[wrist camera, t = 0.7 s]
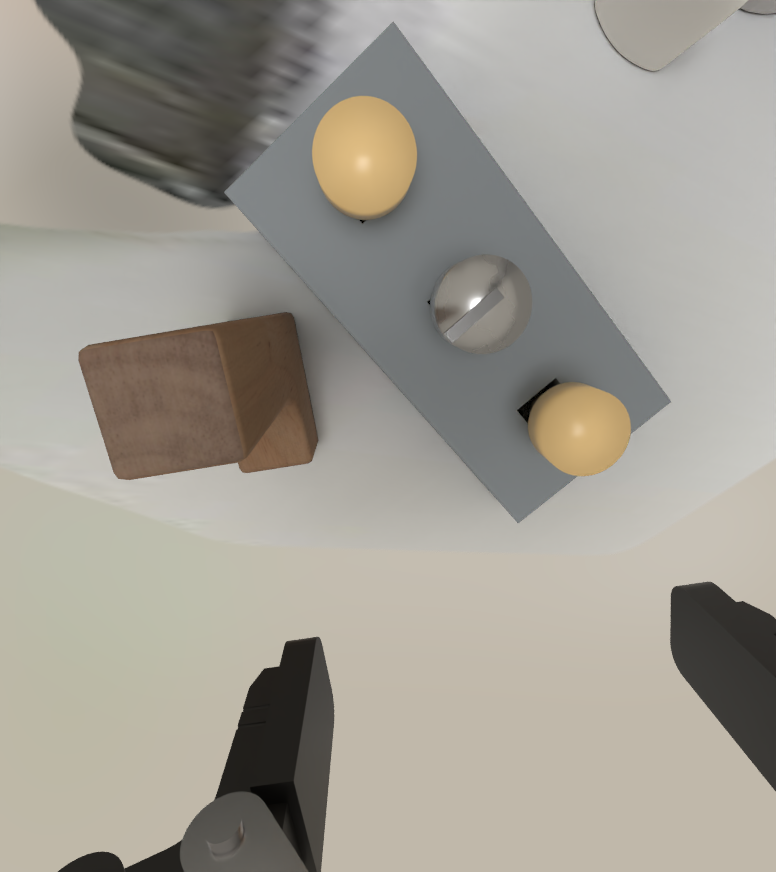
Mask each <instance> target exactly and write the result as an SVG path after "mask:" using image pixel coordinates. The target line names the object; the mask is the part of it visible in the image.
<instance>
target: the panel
mask: <svg viewBox="0 0 776 872" xmlns="http://www.w3.org/2000/svg"><path fill="white" fill-rule="evenodd" d="M356 96H371V97H376V98H379V99H382V100H384V101H386V102H388V103H389V104H391V105H392V106H394V107H395V108H396V109H397V110H398V111H400V113H401V114H402V115H403V116H404V117H405V119H406V120H407V122H408V123H409V125H410V127H411V129H412V132H413V134H414V137H415V142H416V147H417V163H416V169H415V173H414V176H413V179H412V181H411V184H410V186H409V188H408V191H407V193H406V195H405V197H404V198H403V200H402V201H401V203H400V204H399V205H398V206H397V207H396V208H395V209H394V210H393V211H391V212H390V213H388V214H387V215H385V216H382V217H380V218H376V219H371V220H366V221H365V222H364V223H363V224H362V223H361V222H360V220H359V219H354V218H351V217H349V216H346V215H344V214H343V213H341V212H339V211H338V210H337V209H336V208H334V207H333V206H332V204H331V203H330V202H329V201H328V200H327V198H326V197H325V195H324V193H323V191H322V189H321V187H320V184H319V181H318V179H317V176H316V173H315V170H314V166H313V160H312V146H313V139H314V135H315V132H316V129H317V127H318V125H319V123H320V121H321V120H322V118H323V117H324V115H325V114H326V113H327V112H328V111H329V110H330V109H331V108H332V107H333V106H334V105H336V104H338V103H339V102H341V101H343V100H345V99H348V98H351V97H356ZM224 193H225V194H226V195H227V196H228V197H229V198H230V199H231V200H232V202H233V203H234V204H235V205H236V206H237V207H238V208H239V210H240V211H241V212H242V213H243V214H244V215H245V216H246V217H247V219H248V220H249V221H250V222H251V223H252V224H253V225H254V226H255V227H256V229H257V230H258V231H259V232H260V233H261V234H262V235H263V237H264V238H265V239H266V240H267V241H268V242H269V243H270V244H271V246H272V247H273V248H274V249H275V250H276V251H277V252H278V253H279V255H280V256H281V257H282V258H283V259H284V260H285V261H286V262H287V264H288V265H289V266H290V267H291V268H292V269H293V270H294V271H295V273H296V274H297V275H298V276H299V277H300V278H301V279H302V280H303V282H304V283H305V284H306V285H307V286H308V287H309V288H310V289H311V291H312V292H313V293H314V294H315V295H316V296H317V297H318V298H319V300H320V301H321V302H322V303H323V304H324V305H325V306H326V307H327V309H328V310H329V311H330V312H331V313H332V314H333V315H334V317H335V318H336V319H337V320H338V321H339V322H340V323H341V324H342V326H343V327H344V328H345V329H346V330H347V331H348V332H349V333H350V335H351V336H352V337H353V338H354V339H355V340H356V341H357V342H358V344H359V345H360V346H361V347H362V348H363V349H364V350H365V351H366V353H367V354H368V355H369V356H370V357H371V358H372V359H373V360H374V362H375V363H376V364H377V365H378V366H379V367H380V368H381V369H382V371H383V372H384V373H385V374H386V375H387V376H388V377H389V378H390V380H391V381H392V382H393V383H394V384H395V385H396V386H397V387H398V389H399V390H400V391H401V392H402V393H403V394H404V395H405V396H406V398H407V399H408V400H409V401H410V402H411V403H412V404H413V405H414V407H415V408H416V409H417V410H418V411H419V412H420V413H421V414H422V416H423V417H424V418H425V419H426V420H427V421H428V422H429V423H430V425H431V426H432V427H433V428H434V429H435V430H436V431H437V433H438V434H439V435H440V436H441V437H442V438H443V439H444V440H445V442H446V443H447V444H448V445H449V446H450V447H451V448H452V449H453V451H454V452H455V453H456V454H457V455H458V456H459V457H460V458H461V460H462V461H463V462H464V463H465V464H466V465H467V466H468V467H469V469H470V470H471V471H472V472H473V473H474V474H475V475H476V476H477V478H478V479H479V480H480V481H481V482H482V483H483V484H484V485H485V487H486V488H487V489H488V490H489V491H490V492H491V493H492V494H493V496H494V497H495V498H496V499H497V500H498V501H499V502H500V503H501V505H502V506H503V507H504V508H505V509H506V510H507V511H508V512H509V514H510V515H511V516H512V517H513V518H514V519H515V520H516V521H517V523H519V522H520V521H522V520H523V519H524V518H526V517H527V516H528V515H529V514H531V513H532V512H533V511H534V510H536V509H537V508H538V507H539V506H541V505H542V504H543V503H544V502H546V501H547V500H548V499H549V498H551V497H552V496H553V495H554V494H556V493H557V492H558V491H559V490H561V489H562V488H563V487H565V486H566V485H567V484H568V483H570V482H571V481H572V480H573V479H575V478H576V477H577V476H574V475H570V474H567V473H564V472H562V471H561V470H559V469H558V468H556V467H555V466H554V465H553V464H552V463H550V462H549V461H548V460H547V459H546V458H545V457H544V456H542V455H541V454H540V453H539V452H538V451H537V450H536V449H535V447H534V446H533V444H532V442H531V440H530V437H529V433H528V423H527V422H526V421H525V420H524V418H523V417H522V416H521V415H520V414H519V412H518V411H517V410H518V409H519V408H520V407H521V406H523V405H524V404H525V403H526V402H527V401H529V400H530V399H531V398H532V397H533V396H535V395H536V394H537V393H538V392H539V391H541V390H542V389H543V388H544V387H545V386H547V385H548V387H549V388H552V387H554V386H556V385H558V384H562V383H567V382H579V383H583V384H587V385H589V386H592V387H594V388H597V389H600V390H602V391H605V392H607V393H610V394H612V395H613V396H615V397H616V398H617V399H619V400H620V401H621V403H622V404H623V405H624V406H625V408H626V410H627V412H628V414H629V418H630V423H631V433H632V432H634V431H635V430H636V429H637V428H639V427H640V426H641V425H643V424H644V423H645V422H646V421H648V420H649V419H650V418H651V417H653V416H654V415H655V414H656V413H658V412H659V411H660V410H661V409H663V408H664V407H665V406H666V405H668V404H669V403H670V402H671V401H670V399H669V398H668V396H667V395H666V394H665V392H664V391H663V390H662V388H661V387H660V386H659V384H658V383H657V381H656V380H655V379H654V377H653V376H652V375H651V373H650V372H649V370H648V369H647V368H646V366H645V365H644V364H643V362H642V361H641V360H640V358H639V357H638V355H637V354H636V353H635V351H634V350H633V349H632V347H631V346H630V345H629V343H628V342H627V340H626V339H625V338H624V336H623V335H622V334H621V332H620V331H619V329H618V328H617V327H616V325H615V324H614V323H613V321H612V320H611V319H610V317H609V316H608V314H607V313H606V312H605V310H604V309H603V308H602V306H601V305H600V303H599V302H598V301H597V299H596V298H595V297H594V295H593V294H592V293H591V291H590V290H589V288H588V287H587V286H586V284H585V283H584V282H583V280H582V279H581V277H580V276H579V275H578V273H577V272H576V271H575V269H574V268H573V267H572V265H571V264H570V262H569V261H568V260H567V258H566V257H565V256H564V254H563V253H562V252H561V250H560V249H559V247H558V246H557V245H556V243H555V242H554V241H553V239H552V238H551V236H550V235H549V234H548V232H547V231H546V230H545V228H544V227H543V226H542V224H541V223H540V221H539V220H538V219H537V217H536V216H535V215H534V213H533V212H532V210H531V209H530V208H529V206H528V205H527V204H526V202H525V201H524V200H523V198H522V197H521V195H520V194H519V193H518V191H517V190H516V189H515V187H514V186H513V184H512V183H511V182H510V180H509V179H508V178H507V176H506V175H505V174H504V172H503V171H502V169H501V168H500V167H499V165H498V164H497V163H496V161H495V160H494V159H493V157H492V156H491V154H490V153H489V152H488V150H487V149H486V148H485V146H484V145H483V143H482V142H481V141H480V139H479V138H478V137H477V135H476V134H475V133H474V131H473V130H472V128H471V127H470V126H469V124H468V123H467V122H466V120H465V119H464V117H463V116H462V115H461V113H460V112H459V111H458V109H457V108H456V107H455V105H454V104H453V102H452V101H451V100H450V98H449V97H448V96H447V94H446V93H445V91H444V90H443V89H442V87H441V86H440V85H439V83H438V82H437V81H436V79H435V78H434V76H433V75H432V74H431V72H430V71H429V70H428V68H427V67H426V65H425V64H424V63H423V61H422V60H421V59H420V57H419V56H418V55H417V53H416V52H415V50H414V49H413V48H412V46H411V45H410V44H409V42H408V41H407V40H406V38H405V37H404V35H403V34H402V33H401V31H400V30H399V29H398V27H397V26H396V24H395V23H394V22H392V23H391V24H390V25H389V26H388V27H387V28H386V29H385V30H384V31H383V32H382V33H381V35H380V36H379V37H378V38H377V39H376V40H375V41H374V42H373V43H372V44H371V45H370V46H369V47H368V48H367V49H366V50H365V51H364V52H363V53H362V54H361V55H360V56H359V57H358V58H357V59H356V60H355V61H354V62H353V63H352V64H351V65H350V66H349V67H348V68H347V69H346V70H345V71H344V72H343V73H342V74H341V75H340V76H339V77H338V78H337V79H336V80H335V81H334V82H333V83H332V84H331V85H330V86H329V87H328V88H327V89H326V90H325V91H324V92H323V93H322V94H321V95H320V96H319V97H318V98H317V99H316V100H315V101H314V102H313V103H312V104H311V105H310V106H309V107H308V108H307V109H306V110H305V111H304V112H303V113H302V114H301V115H300V116H299V117H298V118H297V119H296V120H295V121H294V122H293V123H292V124H291V125H290V126H289V127H288V128H287V129H286V130H285V131H284V132H283V133H282V134H281V135H280V136H279V137H278V138H277V139H276V140H275V141H274V142H273V143H272V144H271V146H270V147H269V148H268V149H267V150H266V151H265V152H264V153H263V154H262V155H261V156H260V157H259V158H258V159H257V160H256V161H255V162H254V163H253V164H252V165H251V166H250V167H249V168H248V169H247V170H246V171H245V172H244V173H243V174H242V175H241V176H240V177H239V178H238V179H237V180H236V181H235V182H234V183H233V184H232V185H231V186H230V187H229V188H228V189H227V190H226V191H225V192H224ZM477 255H496V256H500V257H503V258H505V259H507V260H509V261H511V262H512V263H514V264H515V265H516V266H517V267H518V268H519V269H520V270H521V271H522V272H523V274H524V275H525V277H526V279H527V281H528V283H529V286H530V289H531V293H532V310H531V315H530V318H529V321H528V324H527V326H526V328H525V329H524V331H523V333H522V334H521V335H520V336H519V338H518V339H517V340H515V341H514V342H513V343H512V344H511V345H509V346H508V347H506V348H504V349H503V350H500V351H498V352H494V353H490V354H474V353H470V352H467V351H464V350H462V349H460V348H458V347H456V346H454V345H452V344H451V343H449V342H447V341H446V340H445V339H444V338H443V337H442V336H441V335H440V334H439V332H438V331H437V329H436V328H435V326H434V323H433V321H432V317H431V312H430V305H429V304H428V303H427V302H428V301H429V300H430V299H431V294H432V291H433V288H434V286H435V284H436V282H437V280H438V279H439V277H440V276H441V275H442V274H443V273H444V272H445V271H446V270H447V269H448V268H449V267H451V266H452V265H454V264H455V263H458V262H460V261H462V260H465V259H468V258H470V257H473V256H477ZM631 433H630V434H631Z"/></svg>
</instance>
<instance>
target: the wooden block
mask: <svg viewBox="0 0 776 872" xmlns="http://www.w3.org/2000/svg"><path fill="white" fill-rule="evenodd" d="M79 363H80V366H81V370H82V373H83V376H84V379H85V382H86V386H87V389H88V392H89V395H90V398H91V401H92V405H93V408H94V411H95V414H96V417H97V421H98V424H99V427H100V430H101V433H102V437H103V440H104V443H105V446H106V449H107V452H108V456H109V459H110V462H111V465H112V468H113V472H114V474H115V475H116V476H117V478H118V479H125V480H132V479H138V478H145V477H151V476H157V475H163V474H169V473H176V472H182V471H188V470H194V469H200V468H207V467H213V466H219V465H225V464H231V463H238V464H239V468H240V469H241V471H242V472H244V473H250V472H257V471H263V470H269V469H276V468H282V467H288V466H294V465H301V464H307V463H309V462H311V461H312V459H313V456H314V452H315V449H316V446H317V442H318V438H317V433H316V427H315V422H314V417H313V412H312V407H311V402H310V397H309V392H308V387H307V382H306V377H305V372H304V367H303V362H302V357H301V352H300V347H299V342H298V336H297V331H296V326H295V321H294V317H293V316H292V314H291V313H287V312H285V313H278V314H272V315H266V316H260V317H253V318H247V319H241V320H235V321H228V322H222V323H216V324H211V325H205V326H199V327H193V328H187V329H181V330H175V331H169V332H163V333H157V334H151V335H145V336H139V337H133V338H127V339H121V340H115V341H109V342H103V343H97V344H92V345H88V346H86V347H85V348H83V349H82V350H80V352H79Z"/></svg>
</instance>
